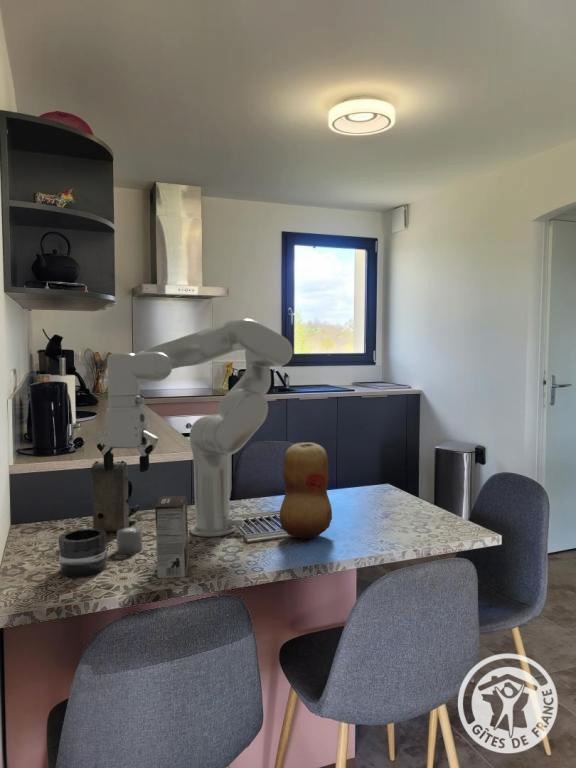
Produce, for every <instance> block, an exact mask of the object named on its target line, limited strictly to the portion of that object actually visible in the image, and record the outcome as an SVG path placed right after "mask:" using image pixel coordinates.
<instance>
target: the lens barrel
mask: <svg viewBox="0 0 576 768" xmlns="http://www.w3.org/2000/svg"><path fill="white" fill-rule="evenodd" d="M106 537H107V535H106V532H105V531H104V530H102V529H94V528H93V527H92V528H91V527H90V528H88V527H87V528H81V529H80V528H79V529H73V530H69V531H66V532H64V533H62V534H60V535H59V537H58V548H59V554H58V558H59V563H60V564H59V565H60V567H59V568H60V574H61V576H64V577H67V578H83V577H84V578H85V577H90V576H94V575H97V574H100V573H102V572H104V570H106V569H107V556H108V554H107V553H108V550H107V543H106V541H107V539H106Z"/></svg>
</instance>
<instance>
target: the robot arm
mask: <svg viewBox="0 0 576 768" xmlns="http://www.w3.org/2000/svg"><path fill="white" fill-rule="evenodd" d="M244 350H245V351H244ZM236 351H244V356H245V358H244V359H245V372H244V374H243V375H242V376H241V377H240V379H239V380H238V381H237V382H236V383H235V384H234V386H233V387H231V389H230V390H229V391H228V392H227V393H226V394H225V395H223V397H222V398H221V399H220V401H219V403H218V407H217V410H218V411H217V412H218V414H219V416H220V417H216V416H204V417H200V418H198V419H197V420H196V421H194V423H193V424H192V426H191V428H190V431H189V442H190V443H189V444H190V448H191V452H192V459H193V481H194V484H193V485H194V487H193V488H194V514H195V515H194V516H195V523H193V524H192V525H191V526H190V527H189V532H190V534H191V535H194V536H196V537H197V536H198V537H203V538H204V537H205V538H206V537H207V538H209V537H210V538H211V537H213V538H214V537H221V536H225V535H226V536H227V535H229V534H231V533H233V532H235V530H236V528H237V527H241V528H242V527H243V528H244V526H245V519H243V517H235V516H234V512H233V511H231V510H230V506H231V505H230V480H229V479H230V478H229V477H230V476H229V475H230V474H229V473H230V471H229V470H230V469H229V461H228V456H231V455H234V454H235V453H237V452H238V451H240V450H241V449H243V447H244V446H245V445H246V444H247V442H249V440H251V438H252V437H253V436H254V435H255V433H256V432H257V431H258V430H259V429H260V427H261V426H262V425H263V424H264V423H265V421H266V418H267V415H268V413H269V404H268V401H267V399H266V397H265V396H266V394H267V393H268V392H269V390H270V387H271V384H272V382H271V381H272V377H271V375H272V373H271V367H283V366H285V365H287V364H288V363H290V361H291V360H292V357H293V354H294V353H293V346H292V344H291V342H290V340H289V339H287V338H286V337H285V336H283V335H282V334H280V333H279V332H276V331H274V330H272V329H271V328H269V327H267V326H265V325H264V324H262V323H259V322H258V321H257V320H256V321H255V320H254V319H251V318H240V319H232V320H227V321H224V322H221V323H218V324H215V325H213V326H210V327H208V328H204V329H202V330H199V331H196V332H194V333H191V334H187V335H185V336H181V337H179V338H176V339H174V340H173V339H172V340H170V341H167V342H164V343H160V344H157V345H155V346H152V347H149V348H146V349H143V350H141V351H139V352H137V353H134V352H113V353H111V354H109V355H108V356H107V367H106V368H107V391H108V393H107V395H108V398H107V399H108V407H107V408H106V411H105V416H104V426H103V427H104V429H103V431H102V432H100V433H98V434H96V435H95V436H94V437H93V441H94V443H95V445H96V448H97V449H98V450H99V451H100V453H101V454H100V455H102V456H103V462H104V467H105V471H109V470H112V469H113V468H114V462H115V461H114V454H113V453H112V451H113V450H114V449H136V450H137V451H138V452H139V454H140V456H139V458H138V459H139V460H138V461H139V472H140V473H145V472H147V471H148V470H149V467H150V455H151V454H152V452H153V451H154V449H156V445H157V444H158V441H159V437H158V436H156V435H154V434H152V433H151V432H149V430H148V424H147V418H146V413H145V410H144V407H142V406H141V404H144V403H145V398H144V397H141V395H140V394H141V393H140V392H141V391H140V389H141V388H140V381H142V382H144V381H147V382H148V381H149V382H160V381H163V380H165V379H167V378H168V377H169V376H170V375H171V373H172V371H173V369H178V368H183V367H193V366H198V365H202V364H206V363H208V362H211V361H213V360H215V359H218V358H220V357H223V356H225V355H228V354H230V353H233V352H236ZM103 441H104V443H103ZM148 443H149V445H148Z"/></svg>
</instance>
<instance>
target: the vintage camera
mask: <svg viewBox="0 0 576 768" xmlns="http://www.w3.org/2000/svg"><path fill="white" fill-rule="evenodd" d="M113 462H114V468H113V469H112V470H109V471H105V467H104V461H102V462H100V461H98V460H97V461H94V462H93V464H92V466H91V468H90V474H91V490H92V491H91V495H92V499H91V500H92V503H91V504H92V523H93V524H92V528H94V529H102V530H104V531H105V533H117V531H118V530H120V529H123V528H128V527H130V518H131V517H132V516H133V515H135V514H136V513H137V512H139V511H140V510H141V509H142V508H143V506H141V505H140V504H138V503H137V504H135V505H134V506H130V505H129V504H130V503H129V502H130V498H131V497H132V493H133V484H132V482H131V480H129V472H128V468H129V467H128V464H127V462H126V461H124V460H121V461H116V462H115V461H113Z"/></svg>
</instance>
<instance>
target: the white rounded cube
mask: <svg viewBox="0 0 576 768" xmlns="http://www.w3.org/2000/svg"><path fill="white" fill-rule="evenodd" d="M142 535H143V533H142V528H141V527H136V526H132V527H131V526H129V527H128V528H123V529H120V530H118V531H117V532H116V541H117V543H116V544H117V545H116V547H117V553H118V554H120V555H133V554H137V553H139V552H142V550H143V540H142V539H143V536H142Z"/></svg>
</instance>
